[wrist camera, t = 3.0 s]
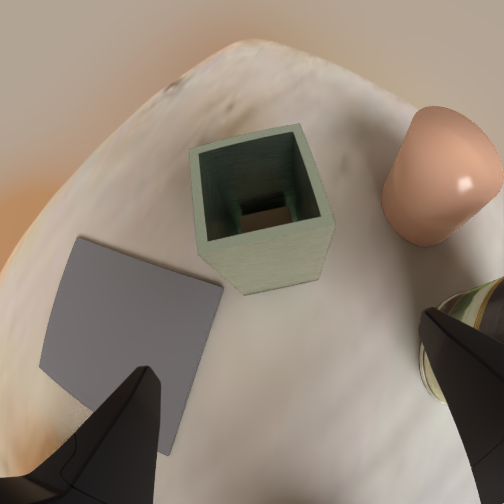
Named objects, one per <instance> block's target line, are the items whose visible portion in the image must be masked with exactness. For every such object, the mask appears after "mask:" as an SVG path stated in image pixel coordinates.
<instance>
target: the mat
mask: <svg viewBox="0 0 504 504" xmlns="http://www.w3.org/2000/svg"><path fill="white" fill-rule="evenodd" d="M223 290H224V288H223V287H220V286H216V285H213V284H210V283H207V282H204V281H201V280H198V279H195V278H192V277H189V276H185V275H182V274H179V273H176V272H173V271H171V270H168V269H165V268H162V267H159V266H156V265H153V264H150V263H147V262H144V261H141V260H139V259H136V258H133V257H130V256H127V255H125V254H122V253H119V252H116V251H114V250H111V249H108V248H106V247H103V246H100V245H97V244H95V243H92V242H90V241H87V240H84V239H82V238H79V237H77V238H76V241H75V243H74V246H73V248H72V251H71V254H70V256H69V259H68V262H67V264H66V267H65V270H64V273H63V276H62V279H61V282H60V285H59V288H58V291H57V294H56V298H55V301H54V304H53V308H52V312H51V315H50V319H49V323H48V327H47V331H46V335H45V339H44V344H43V349H42V354H41V359H40V364H39V367H40V368H41V369H42V370H43V371H44V372H45V373H46V374H47V375H48V376H49V377H51V378H52V379H53V380H54V381H55V382H56V383H57V384H59V385H60V386H61V387H62V388H63V389H65V390H66V391H67V392H68V393H69V394H71V395H72V396H73V397H74V398H76V399H77V400H78V401H80V402H81V403H82V404H84V405H85V406H86V407H88V408H89V409H90V410H92V411H93V412H95V411H96V410H97V409H98V407H99V406H100V405H101V404H102V403H103V402H104V401H105V400H106V399H107V398H108V397H109V396H110V395H111V394H112V393H113V392H114V391H115V390H116V389H117V388H118V386H119V385H120V384H121V383H122V382H123V381H124V380H125V379H126V378H127V377H128V376H129V375H130V374H131V373H132V372H133V371H134V370H135V369H136V368H137V367H138V366H146V365H148V366H150V367H151V368H152V369H153V371H154V372H155V374H156V375H157V377H158V378H159V379H160V382H161V422H160V432H159V441H158V450H157V451H158V452H160V453H162V454H164V455H166V456H169V455H170V453H171V450H172V446H173V443H174V440H175V437H176V434H177V430H178V427H179V424H180V421H181V418H182V415H183V412H184V408H185V405H186V402H187V399H188V396H189V393H190V390H191V387H192V384H193V380H194V377H195V374H196V371H197V368H198V365H199V362H200V359H201V356H202V353H203V350H204V347H205V344H206V341H207V338H208V335H209V332H210V329H211V326H212V323H213V320H214V317H215V314H216V311H217V308H218V305H219V302H220V299H221V296H222V293H223Z"/></svg>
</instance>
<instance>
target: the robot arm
mask: <svg viewBox="0 0 504 504" xmlns="http://www.w3.org/2000/svg"><path fill="white" fill-rule="evenodd" d="M419 336H420V339H421V341H422V344H423V346H424V349H425V352H426V354H427V357H428V360H429V363H430V366H431V368H432V371H433V373H434V376H435V378H436V380H437V382H438V384H439V387H440V389H441V391H442V393H443V395H444V398H445V400H446V402H447V405H448V407H449V409H450V412H451V414H452V416H453V419H454V421H455V424H456V426H457V429H458V432H459V434H460V437H461V439H462V442H463V445H464V448H465V451H466V453H467V456H468V459H469V462H470V466H471V467H472V468H471V469H472V472H473V476H474V479H475V482H476V486H477V490H478V493H479V497H480V501H481V504H503V503H504V344H503V343H501V342H500V341H498V340H496V339H494V338H492V337H490V336H488V335H487V334H485V333H483V332H481V331H479V330H477V329H475V328H473V327H471V326H469V325H468V324H466V323H464V322H462V321H460V320H458V319H456V318H454V317H452V316H450V315H448V314H446V313H444V312H442V311H440V310H438V309H436V308H434V307H431V308H428V309H425V310H423V311H422V313H421V318H420V323H419ZM160 422H161V382H160V379H159V378H158V377H157V375H156V374H155V372H154V371H153V369H152V368H151V367H150V366H148V365H146V366H138V367H137V368H136V369H135V370H134V371H133V372H132V373H131V374H130V375H129V376H128V377H127V378H126V379H125V380H124V381H123V382H122V383H121V384H120V385H119V386H118V388H117V389H116V390H115V391H114V392H113V393H112V394H111V395H110V396H109V397H108V398H107V399H106V400H105V401H104V402H103V403H102V404H101V405H100V406H99V407H98V409H97V410H96V411H95V412H94V413H93V414H92V415H91V416H90V417H89V418H88V419H87V420H86V421H85V422H84V423H83V424H82V425H81V426H80V427H79V428H78V430H77V431H76V432H75V433H74V434H73V435H72V436H71V437H70V438H69V439H68V440H67V441H66V442H65V443H64V444H63V445H62V446H61V447H60V448H59V449H58V450H57V451H56V452H54V453H53V454H52V455H51V456H50V457H49V458H48V459H46V460H45V461H44V462H43V463H42V464H41V465H39V466H38V467H37V468H36V469H35V470H34V471H32V472H31V473H29V474H27V475H24V476H18V477H5V478H0V504H153V494H154V481H155V469H156V459H157V450H158V441H159V432H160Z"/></svg>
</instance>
